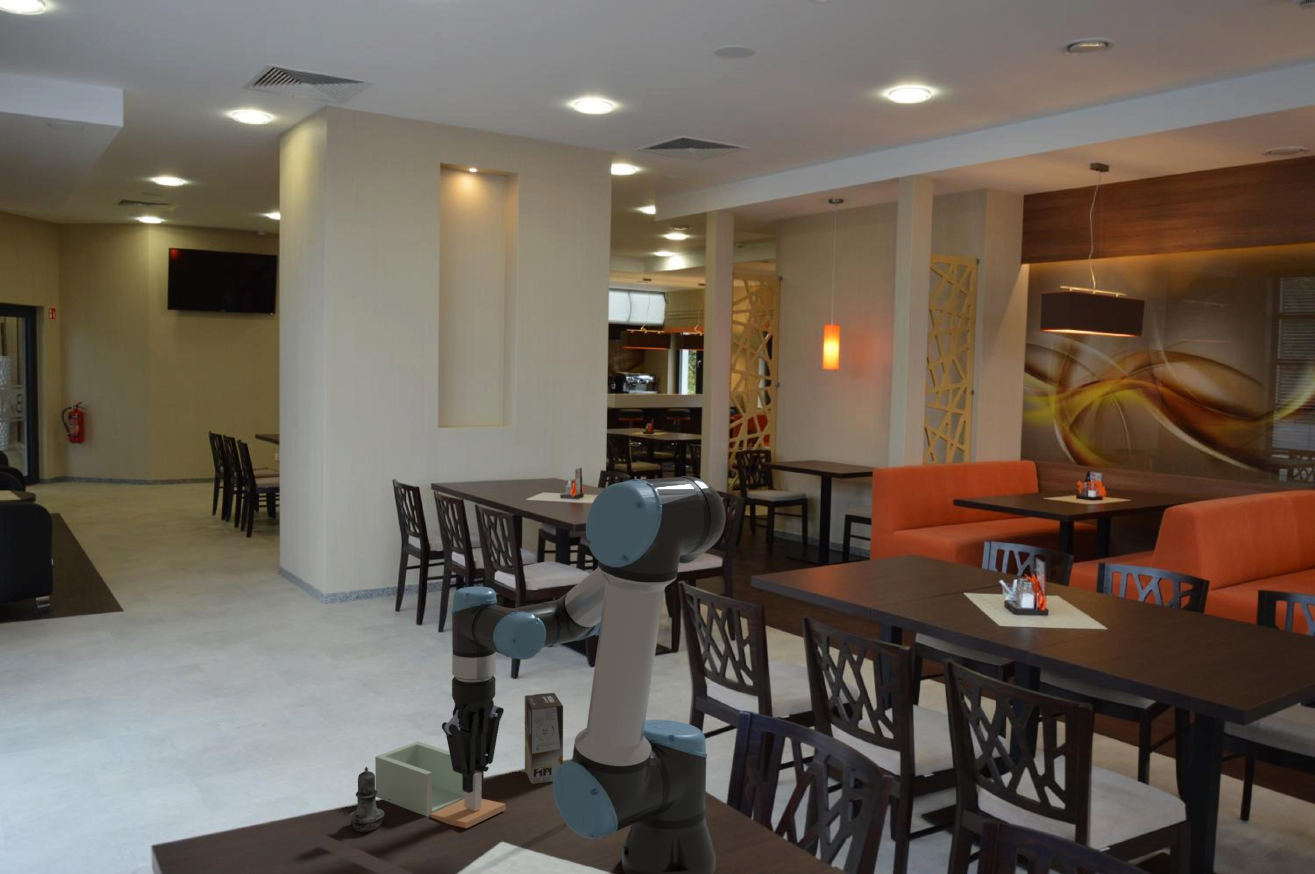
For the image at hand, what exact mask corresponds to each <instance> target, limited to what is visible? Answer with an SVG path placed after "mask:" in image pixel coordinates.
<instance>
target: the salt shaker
mask: <svg viewBox="0 0 1315 874" xmlns="http://www.w3.org/2000/svg"><path fill="white" fill-rule="evenodd" d="M363 770H364V771H362V772H361V773H359V775H358V776H357V792H356V793H355V797H356V798H357V799H356V800H357V807H356V810H355V811H352V812H351V813H350V814H349V815H348V820H349V821H350V823H351V826H352V828H353V829H354V830H355V831H356V832H359V833H368V832H373V831H375V830H377V829H378V828H379V827H380V826H381V824H382V822H383V818H384V816H385V812H384V810H382V809H381V808H379V807H377V803H376V800H377V799H376V798H377V797H376V795H377V791H376V774H375V773H374V772H373V771H369V768H368V767H367V766H366V767H365V768H364V769H363Z"/></svg>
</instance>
